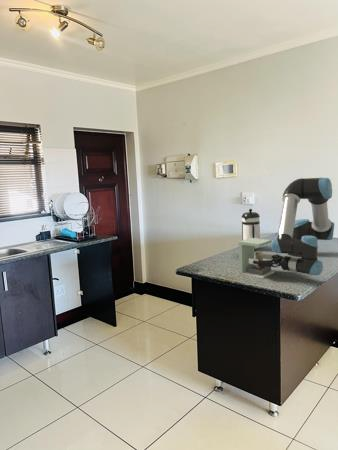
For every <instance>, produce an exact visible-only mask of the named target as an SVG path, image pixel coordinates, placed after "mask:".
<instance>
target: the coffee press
mask: <svg viewBox="0 0 338 450" xmlns="http://www.w3.org/2000/svg"><path fill="white" fill-rule="evenodd" d="M260 223H261V222H260V214H259V213H258V212H255V211H253V209H252V208H249V209H248V211H247V212H244V213H242V215H241V231H242V232H241V238H242V240H246V239H249V238H258V239H261V238H260V237H261V236H260V229H261V228H260ZM242 240H241V241H242ZM256 249H259V250H261V249H262V247H255V246H254V252H256Z"/></svg>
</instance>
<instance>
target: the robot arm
mask: <svg viewBox="0 0 338 450" xmlns="http://www.w3.org/2000/svg"><path fill="white" fill-rule="evenodd" d="M332 197H333V185H332V181H331V178H328V177H312V178H311V177H308V178H303V177H301V178H297V179H296V180H293V181H292V182H290V183H289V184H288V185H287V187H286V188H285V189H284V191H283V193H282V198H281V199H282V202H283V204H282V210H281V215H280V220H279V225H278V231H277V237H276V238H275V237H274V238H272V239H271V243H270V244H271V245H270V246H271V251H272V252H273V253H276V254H271V253H270V254H269V253H263V259H264V260H263V261H260V259H258V260H257V259H255V258H254V259H251V258H249V263H250V264H254V265H258V266H259V267H271V268H274V269H275V268H278V267H281V269H282V270H283V271H289V272H295V273H301V274H305V275H311V276H320V275H321V274H322V272H323V270H324V264H323V261H321V260H319V257H318V251H319V250H318V249H319V245H318V241H319V240H320V241H331V240H333V238H334V233H335V232H334V231H335V222H333V221H331V220H330V218H329V210H328V208H329V207H328V201H329V200H330V199H332ZM301 200H308V202H309V203H310V205H311V211H312V219H313V220H312V221H310V220H309V219H308V218H303V219H296V217H297V211H298V210H297V209H298V205H299V203H300V202H301ZM280 254H288V255H284V256H283V255H280Z"/></svg>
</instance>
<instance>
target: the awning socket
mask: <svg viewBox="0 0 338 450" xmlns="http://www.w3.org/2000/svg"><path fill="white" fill-rule="evenodd" d="M269 244H272V239H266V238H265V239H264V238H260V239H258V238H249V239H246V240H240V241H238V268H239V269H238V271H239V272H238V273H239V274H240V273H241V275H246V276H249V277H256V278H260V279H261V278H262V279H264V278H266V277H268V276H270V275H272V274H274V273H275V272H276V271H273V270H272V267H263V269H256V264H250V263H249V258H251V259H255V251H254V246H255V247H259V248H262V247H264V246H267V245H269Z"/></svg>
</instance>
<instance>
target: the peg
mask: <svg viewBox="0 0 338 450" xmlns="http://www.w3.org/2000/svg"><path fill="white" fill-rule="evenodd" d="M263 254H264V253H263V252H262V251H258V252H257V251H255V252H254V259H257V260H258V259H260V261H264V260H263V259H264V258H263ZM255 265H256V264H255ZM256 269H263V267H259V266H258V265H256Z"/></svg>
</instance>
